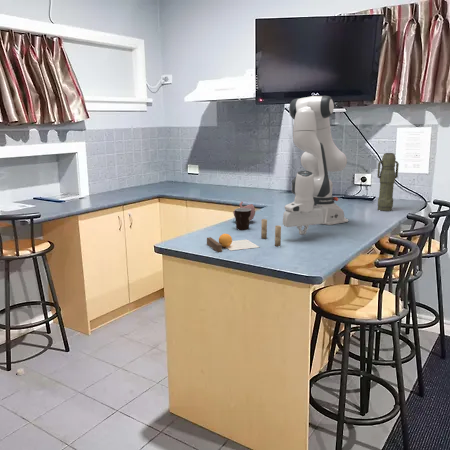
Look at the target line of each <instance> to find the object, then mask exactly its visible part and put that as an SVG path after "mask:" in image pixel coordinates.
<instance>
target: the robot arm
mask: <svg viewBox="0 0 450 450" xmlns="http://www.w3.org/2000/svg"><path fill="white" fill-rule="evenodd" d="M334 107H335V104H334V100H333V98H332V96H330V95H311V96H307V97H306V96H305V97H301V98H300V97H298V98H294V99H292V100H291V102H290V103H289V107H288V110H289V116H290V117H291V118H292V120H294V121H293V127H292V128H293V130H292V131H293V132H292V137H293V139H292V140H293V144H294V145H295V146H296V148H298V149H299V150H301V151H303V153H302V154H301V157H300V163H301V166H302V167H303V169H305V170H301V171H300V170H299V171H298V172H296V176H295V177H294V178H293V179H292V180H291V183H292V184H291V193H292V194H294V201H292V202H290V203H287V204H285V205H284V212H283V216H282V225H283V226H284V227H286V228H294V227H296V228H297V230H298V234H299V235H300V236H302V235H304V236H305V235H306V234H307V232H308V229H309V226H313V225H326V226H327V225H328V226H333V225H339V224H343V223H348V222H349V219H348V218H346V217H345V213H344V212H345V211H344V210H343V208H341V207H340V206H339V205H337V204H336V203H335V202H338V201H339V198H338V197H336V196H333V184H334V183H333V181H332V180H331V178H329V173H328V172H332V173H333V172H341V171H344V170H345V168H346V167H347V163H348V159H347V155H346V154H345V153H344V152H343V151H341V149H339V148H338V147H337V145H336V144H335V142H334V140H333V135H332V131H331V122H330V117H331V116H332V115H333V114H334V113H333V112H334V110H335V108H334ZM303 227H304V228H303ZM302 228H303V229H302Z"/></svg>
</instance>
